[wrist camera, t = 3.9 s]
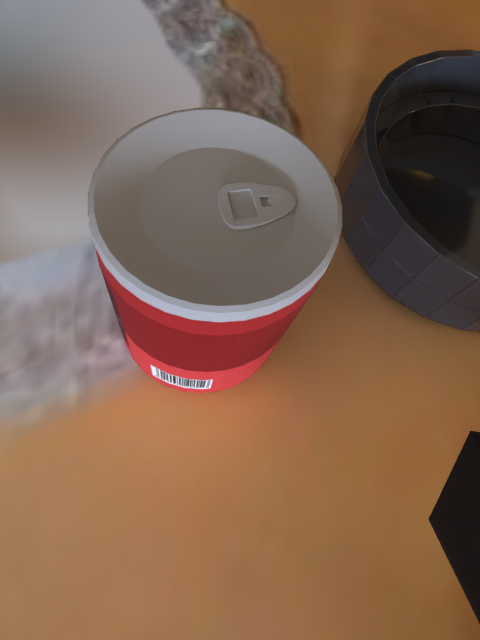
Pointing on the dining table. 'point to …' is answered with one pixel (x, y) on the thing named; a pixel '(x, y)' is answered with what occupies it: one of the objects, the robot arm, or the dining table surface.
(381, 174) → the bowl
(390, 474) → the dining table surface
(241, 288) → the canned food
